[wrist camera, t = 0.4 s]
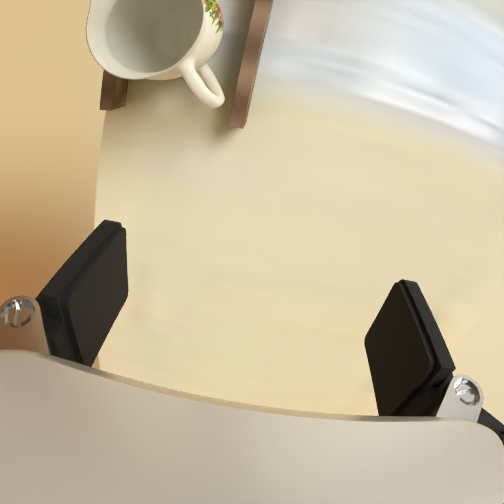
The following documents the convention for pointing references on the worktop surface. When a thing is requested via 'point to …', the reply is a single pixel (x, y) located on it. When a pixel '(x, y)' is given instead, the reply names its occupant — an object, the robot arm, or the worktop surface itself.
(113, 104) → the wooden planks
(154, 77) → the pitcher
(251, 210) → the worktop surface
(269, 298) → the worktop surface
